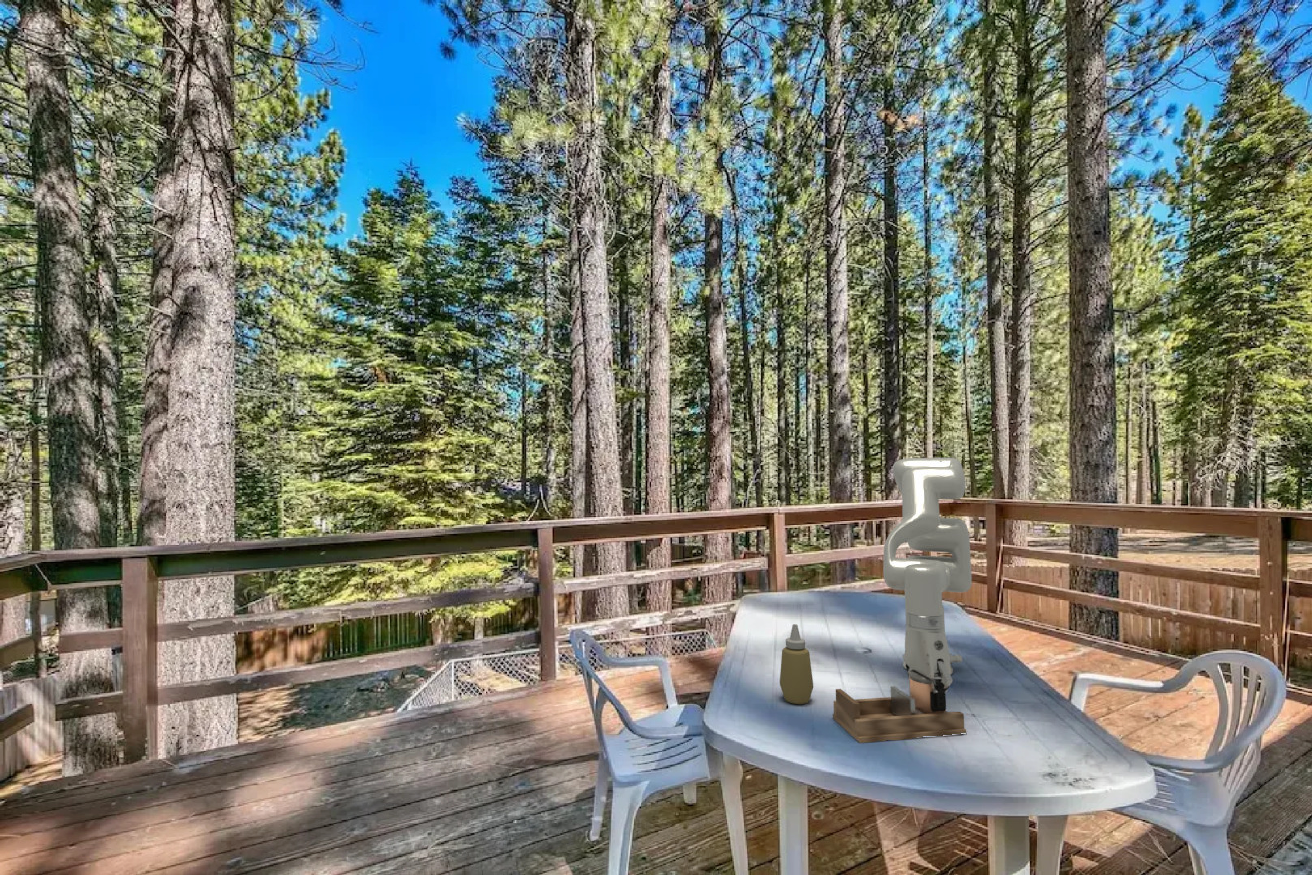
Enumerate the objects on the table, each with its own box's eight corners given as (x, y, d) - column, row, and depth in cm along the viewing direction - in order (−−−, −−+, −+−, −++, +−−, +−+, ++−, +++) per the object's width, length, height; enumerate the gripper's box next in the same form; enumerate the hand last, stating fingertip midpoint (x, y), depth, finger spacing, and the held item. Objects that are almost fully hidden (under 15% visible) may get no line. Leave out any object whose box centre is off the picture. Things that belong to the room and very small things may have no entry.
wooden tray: (930, 711, 129) (929, 680, 129) (966, 734, 117) (964, 700, 117) (832, 718, 125) (831, 686, 126) (859, 742, 113) (858, 707, 114)
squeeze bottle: (814, 696, 138) (813, 622, 139) (812, 708, 130) (810, 630, 132) (781, 692, 141) (780, 619, 142) (777, 704, 133) (776, 627, 134)
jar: (931, 704, 126) (930, 668, 127) (951, 716, 120) (950, 678, 120) (904, 706, 125) (902, 669, 126) (922, 719, 119) (921, 680, 119)
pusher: (903, 711, 125) (902, 685, 126) (924, 725, 118) (923, 698, 118) (891, 711, 125) (890, 686, 125) (911, 726, 118) (910, 699, 118)
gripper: (966, 630, 116) (970, 719, 114) (916, 611, 133) (919, 687, 132) (933, 632, 115) (937, 721, 113) (886, 612, 132) (889, 689, 131)
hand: (927, 702), depth 123 cm, fingers closed on jar, 6 cm apart
